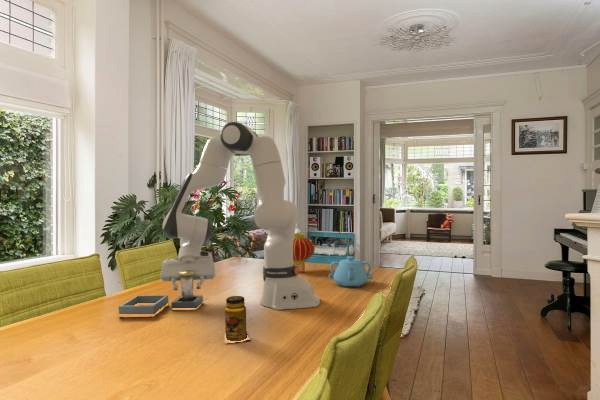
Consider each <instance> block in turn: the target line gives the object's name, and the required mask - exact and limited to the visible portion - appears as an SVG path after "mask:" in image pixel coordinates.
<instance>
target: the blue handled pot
mask: <svg viewBox="0 0 600 400" xmlns="http://www.w3.org/2000/svg"><path fill="white" fill-rule="evenodd" d="M335 264H337V265H336V267H335V270H334V269H333V265H335ZM365 264H367V265H368V270H367V269H366V267H365ZM329 267H330V272H331V273H329V274H328V279H330V280H334V281H335V283H336V284H338V285H339V286H341V287H342V288H344V287H356V288H357V287H358V288H360V287H361V286H363V285H365V284H366V283H367V281H368V280H372V279H373V274H372V273H371V270H372V265H371V263H370V262H368V261H361V260H360V259H356V258H355V259H354V256H351V255H350V256H349V255H348V256H346V259H341V260H340V261H332V262H331V263H330V265H329Z"/></svg>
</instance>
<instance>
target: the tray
mask: <svg viewBox="0 0 600 400" xmlns="http://www.w3.org/2000/svg"><path fill="white" fill-rule="evenodd" d="M137 303H155V304H153V305H139V306H134V305H135V304H137ZM167 303H168V304H169V294H152V295H151V294H147V295H145V294H142V295H140V294H139V295H135V296H134V297H132V298H130V299H128V300H127V301H126V302H124V303H122V304H120V305H119V306H118V315H119V314H155V313H156V312H157V311H158V310H159V309H161V308H162V307H163V306H165V305H166V304H167Z"/></svg>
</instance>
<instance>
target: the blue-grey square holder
mask: <svg viewBox="0 0 600 400" xmlns="http://www.w3.org/2000/svg"><path fill="white" fill-rule="evenodd" d="M202 302H203V303H204V295H201V294H200V295H194V301H181V295H179V296H178V297H176V298H175V299H174V300H172V301H171V306H170V307H171V309H172V308H197V307H198V306H199V305H200V304H201V303H202Z"/></svg>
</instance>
